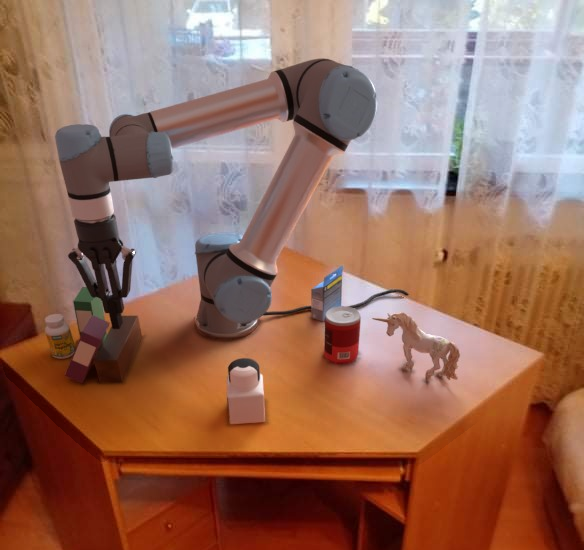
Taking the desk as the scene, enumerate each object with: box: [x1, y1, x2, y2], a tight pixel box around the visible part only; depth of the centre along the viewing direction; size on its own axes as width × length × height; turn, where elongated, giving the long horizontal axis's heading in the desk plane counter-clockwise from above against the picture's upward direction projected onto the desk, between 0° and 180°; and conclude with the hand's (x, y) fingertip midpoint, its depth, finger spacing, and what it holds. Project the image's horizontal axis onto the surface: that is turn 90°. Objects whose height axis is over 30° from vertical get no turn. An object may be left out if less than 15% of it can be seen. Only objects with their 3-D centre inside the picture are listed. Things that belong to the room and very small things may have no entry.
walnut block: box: [93, 315, 143, 384], centre depth 135 cm, size 5×19×6 cm, turn 178°
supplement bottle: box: [44, 313, 76, 360], centre depth 136 cm, size 5×5×10 cm
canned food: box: [323, 305, 362, 366], centre depth 134 cm, size 8×8×11 cm
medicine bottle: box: [226, 357, 266, 425], centre depth 117 cm, size 7×7×12 cm
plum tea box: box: [64, 315, 111, 384], centre depth 128 cm, size 4×7×13 cm, turn 1°
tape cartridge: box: [310, 264, 344, 322], centre depth 149 cm, size 9×4×12 cm, turn 144°
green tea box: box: [72, 286, 108, 351], centre depth 138 cm, size 4×7×13 cm, turn 179°
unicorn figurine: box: [371, 311, 461, 381], centre depth 128 cm, size 7×20×13 cm, turn 68°
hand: (117, 325), depth 124 cm, fingers closed
